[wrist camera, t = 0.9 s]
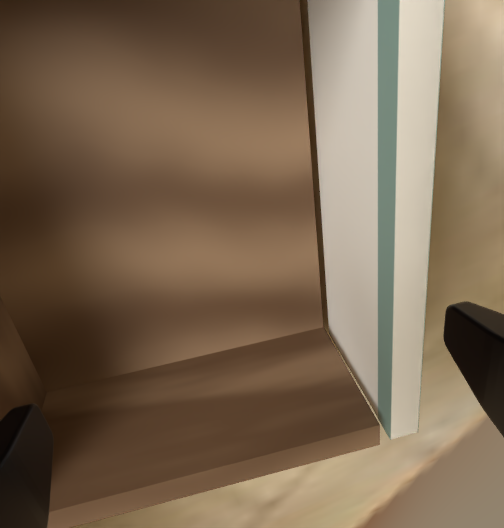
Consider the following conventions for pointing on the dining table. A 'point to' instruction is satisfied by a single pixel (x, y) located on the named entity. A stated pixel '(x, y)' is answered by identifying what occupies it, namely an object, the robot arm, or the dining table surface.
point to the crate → (163, 250)
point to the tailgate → (378, 187)
